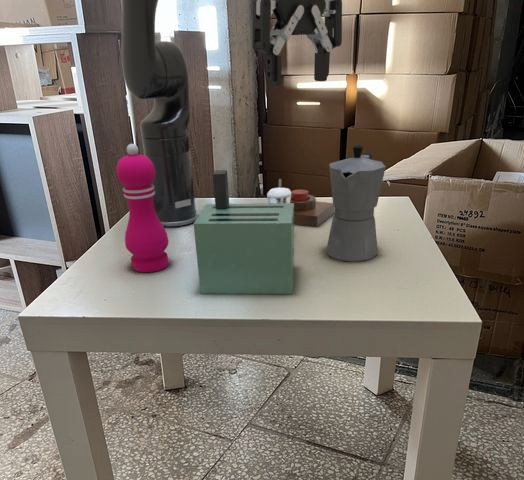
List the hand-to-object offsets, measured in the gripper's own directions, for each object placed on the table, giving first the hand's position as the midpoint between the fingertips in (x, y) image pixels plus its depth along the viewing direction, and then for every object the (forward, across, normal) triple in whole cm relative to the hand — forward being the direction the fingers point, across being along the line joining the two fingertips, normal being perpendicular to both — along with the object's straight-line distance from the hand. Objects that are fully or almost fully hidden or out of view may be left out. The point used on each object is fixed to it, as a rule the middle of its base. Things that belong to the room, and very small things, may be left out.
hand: (298, 83), depth 77 cm
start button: (+24, -15, -18) cm, 34 cm away
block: (+28, -15, -18) cm, 36 cm away
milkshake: (+28, -5, -12) cm, 31 cm away
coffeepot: (+28, -10, +4) cm, 30 cm away
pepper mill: (+28, +22, -13) cm, 38 cm away
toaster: (+27, +12, +3) cm, 30 cm away
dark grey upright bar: (+16, +13, -2) cm, 21 cm away
